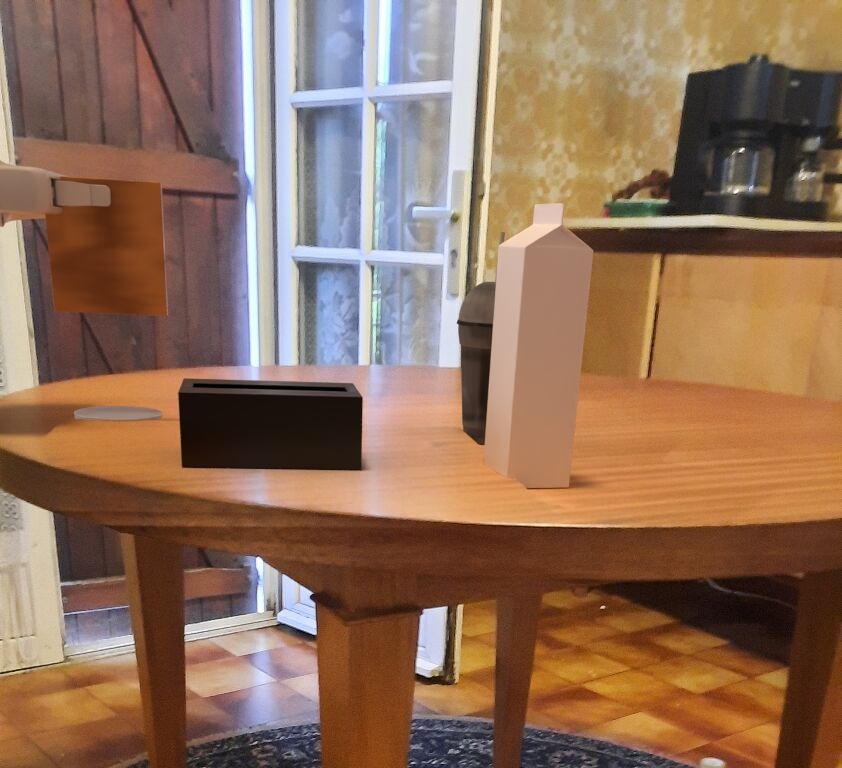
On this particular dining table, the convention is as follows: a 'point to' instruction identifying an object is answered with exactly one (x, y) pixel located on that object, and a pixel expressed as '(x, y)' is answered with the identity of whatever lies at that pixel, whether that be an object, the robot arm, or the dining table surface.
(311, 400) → the toaster
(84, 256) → the toast
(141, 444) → the dining table surface
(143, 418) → the plate
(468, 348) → the beverage cup
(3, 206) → the robot arm
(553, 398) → the milk
